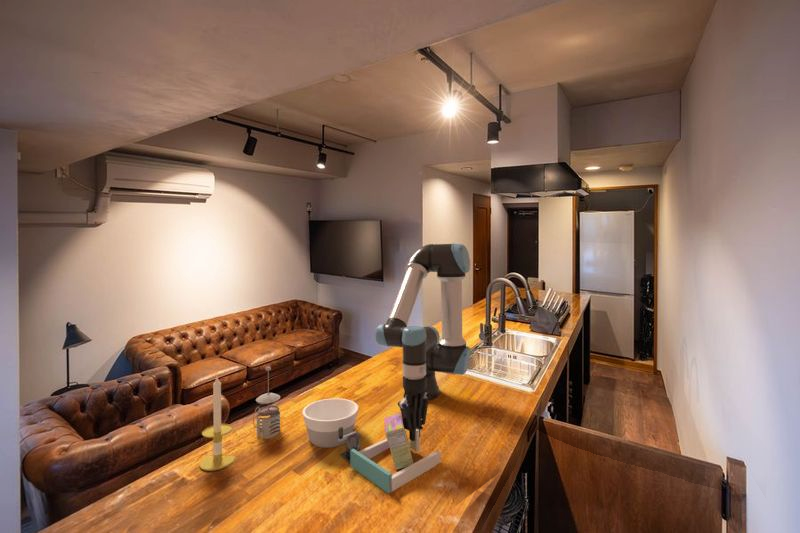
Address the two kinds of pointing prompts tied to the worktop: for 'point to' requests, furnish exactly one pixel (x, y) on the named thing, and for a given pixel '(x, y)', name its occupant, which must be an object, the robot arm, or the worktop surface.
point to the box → (398, 441)
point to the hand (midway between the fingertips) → (415, 448)
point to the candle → (216, 435)
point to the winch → (349, 442)
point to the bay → (382, 476)
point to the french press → (268, 413)
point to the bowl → (329, 420)
